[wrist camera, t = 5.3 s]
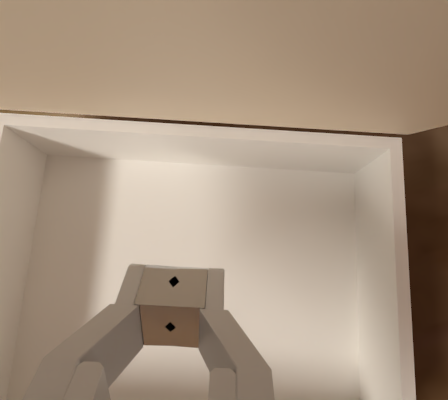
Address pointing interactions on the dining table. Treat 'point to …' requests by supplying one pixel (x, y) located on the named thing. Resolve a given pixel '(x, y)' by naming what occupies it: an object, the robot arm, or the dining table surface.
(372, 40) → the mailer lid
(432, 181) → the dining table surface
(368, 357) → the tray
